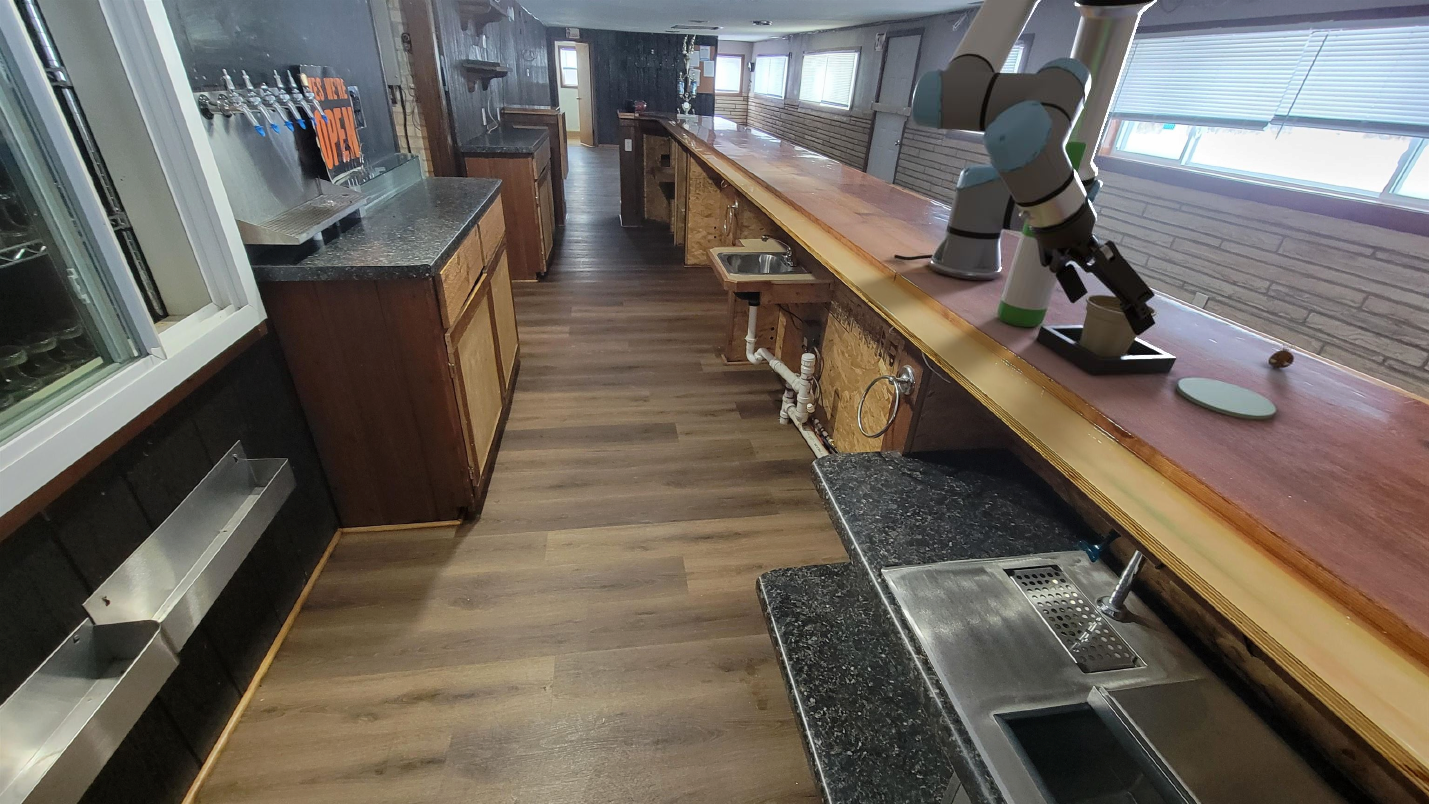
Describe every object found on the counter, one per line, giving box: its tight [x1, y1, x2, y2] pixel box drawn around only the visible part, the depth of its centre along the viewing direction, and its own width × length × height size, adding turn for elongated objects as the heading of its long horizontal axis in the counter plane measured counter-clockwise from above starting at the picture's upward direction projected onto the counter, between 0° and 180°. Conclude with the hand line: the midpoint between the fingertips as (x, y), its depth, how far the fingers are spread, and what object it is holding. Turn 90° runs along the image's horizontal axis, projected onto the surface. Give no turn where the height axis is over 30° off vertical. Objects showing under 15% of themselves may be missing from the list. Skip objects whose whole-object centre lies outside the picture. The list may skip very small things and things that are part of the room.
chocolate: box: [1267, 343, 1297, 369], centre depth 89 cm, size 3×2×4 cm
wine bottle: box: [997, 142, 1087, 328], centre depth 96 cm, size 8×8×30 cm
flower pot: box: [1078, 294, 1158, 357], centre depth 89 cm, size 9×9×9 cm
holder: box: [1035, 324, 1177, 376], centre depth 91 cm, size 13×13×2 cm
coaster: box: [1175, 377, 1277, 420], centre depth 79 cm, size 11×11×1 cm
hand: (1109, 312), depth 87 cm, fingers open, 13 cm apart
